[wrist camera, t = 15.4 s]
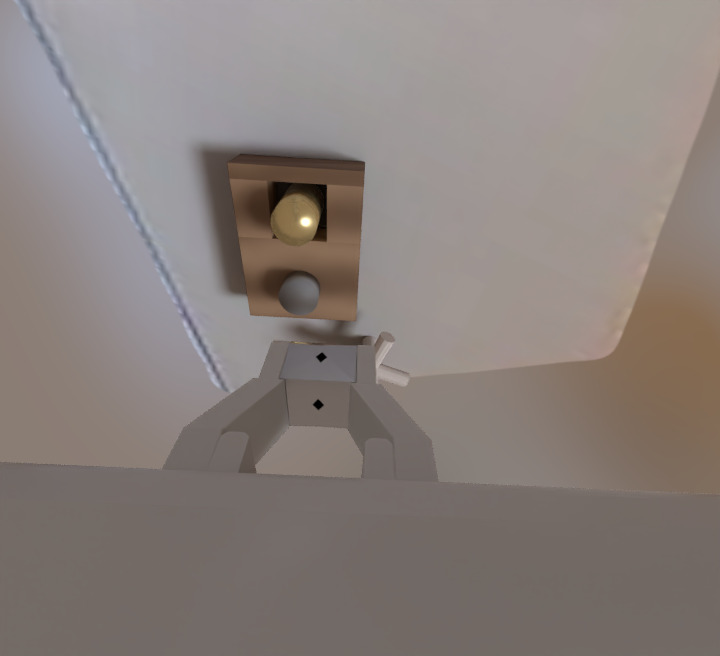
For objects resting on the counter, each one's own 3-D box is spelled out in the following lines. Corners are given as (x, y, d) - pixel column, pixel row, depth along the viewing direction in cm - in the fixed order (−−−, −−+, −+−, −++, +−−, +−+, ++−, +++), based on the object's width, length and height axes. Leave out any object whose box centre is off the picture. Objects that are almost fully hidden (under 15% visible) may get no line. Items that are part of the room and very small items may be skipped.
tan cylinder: (283, 179, 35) (268, 200, 30) (324, 181, 35) (316, 202, 30) (286, 218, 38) (272, 245, 32) (324, 220, 38) (317, 247, 32)
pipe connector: (386, 377, 51) (390, 435, 43) (321, 355, 49) (312, 412, 41) (420, 326, 46) (432, 381, 37) (349, 299, 43) (345, 351, 35)
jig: (240, 154, 34) (217, 168, 29) (364, 162, 34) (364, 178, 29) (259, 297, 43) (244, 327, 38) (356, 302, 44) (355, 333, 38)
